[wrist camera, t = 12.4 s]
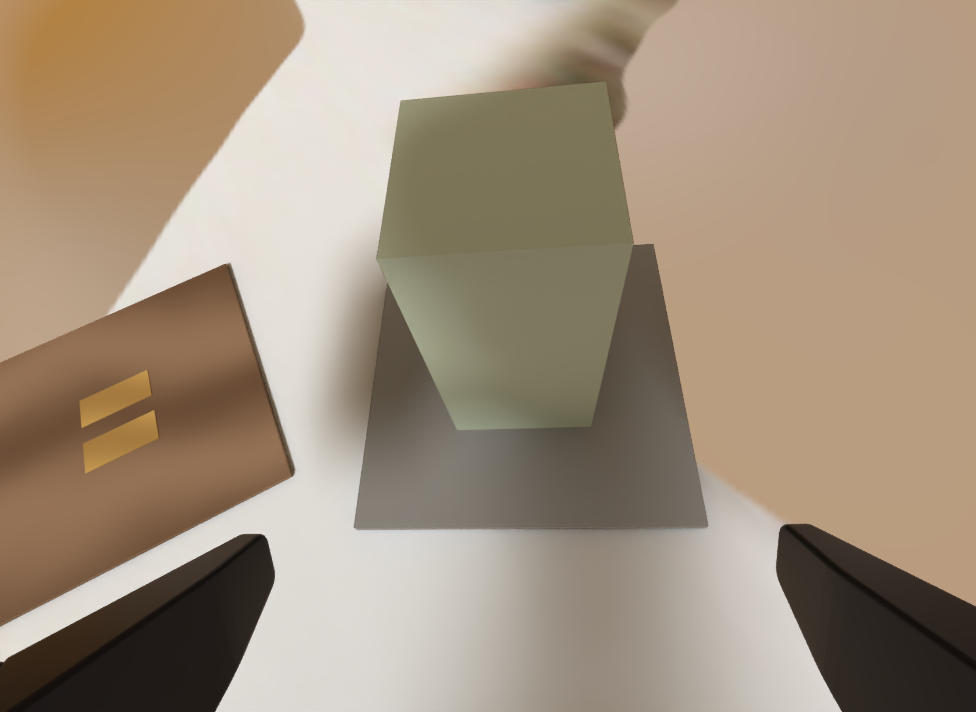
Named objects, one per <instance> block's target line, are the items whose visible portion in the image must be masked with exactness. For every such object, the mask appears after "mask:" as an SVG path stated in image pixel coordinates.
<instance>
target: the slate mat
mask: <svg viewBox="0 0 976 712" xmlns="http://www.w3.org/2000/svg"><path fill="white" fill-rule="evenodd" d="M706 527H708V521H707V516H706V511H705V506H704V501H703V496H702V490H701V485H700V480H699V475H698V470H697V465H696V460H695V455H694V449H693V445H692V439H691V434H690V429H689V424H688V419H687V414H686V409H685V403H684V398H683V394H682V389H681V383H680V378H679V373H678V367H677V362H676V357H675V352H674V347H673V342H672V337H671V332H670V326H669V321H668V316H667V311H666V306H665V301H664V296H663V291H662V285H661V280H660V275H659V270H658V265H657V260H656V255H655V249H654V245H653V244H645V245H633V248H632V252H631V257H630V261H629V265H628V270H627V274H626V278H625V283H624V287H623V291H622V296H621V300H620V304H619V308H618V313H617V317H616V321H615V326H614V330H613V334H612V339H611V343H610V347H609V351H608V356H607V360H606V364H605V369H604V373H603V377H602V382H601V386H600V390H599V395H598V399H597V403H596V407H595V412H594V416H593V420H592V425H591V427H562V428H524V429H486V430H457V429H456V427H455V425H454V423H453V421H452V419H451V416H450V414H449V412H448V410H447V408H446V406H445V404H444V401H443V399H442V397H441V395H440V393H439V391H438V389H437V387H436V384H435V382H434V380H433V378H432V376H431V374H430V372H429V370H428V367H427V365H426V363H425V361H424V359H423V357H422V355H421V353H420V350H419V348H418V346H417V344H416V342H415V340H414V338H413V335H412V333H411V331H410V329H409V327H408V325H407V323H406V321H405V318H404V316H403V314H402V312H401V310H400V308H399V306H398V304H397V301H396V299H395V297H394V295H393V293H392V291H391V289H390V287H389V284H388V282H387V289H386V296H385V303H384V311H383V318H382V325H381V332H380V340H379V347H378V354H377V362H376V369H375V376H374V383H373V391H372V398H371V405H370V413H369V420H368V427H367V435H366V442H365V449H364V456H363V464H362V471H361V478H360V486H359V493H358V500H357V507H356V515H355V522H354V528H355V529H357V530H409V529H632V528H706Z"/></svg>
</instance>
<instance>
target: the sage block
mask: <svg viewBox="0 0 976 712" xmlns="http://www.w3.org/2000/svg"><path fill="white" fill-rule="evenodd" d="M633 244H634V241H633V236H632V230H631V225H630V218H629V212H628V207H627V201H626V195H625V190H624V183H623V178H622V172H621V167H620V161H619V154H618V149H617V143H616V137H615V131H614V126H613V120H612V114H611V108H610V102H609V97H608V91H607V85H606V81H605V82H594V83H583V84H573V85H562V86H551V87H541V88H530V89H519V90H509V91H498V92H487V93H477V94H466V95H455V96H445V97H434V98H423V99H413V100H402V101H400V108H399V114H398V121H397V127H396V134H395V141H394V147H393V154H392V160H391V167H390V173H389V180H388V186H387V193H386V200H385V206H384V213H383V219H382V226H381V232H380V239H379V245H378V252H377V261H378V263H379V265H380V267H381V269H382V272H383V274H384V276H385V278H386V280H387V282H388V284H389V287H390V289H391V291H392V293H393V295H394V297H395V299H396V301H397V304H398V306H399V308H400V310H401V312H402V314H403V316H404V318H405V321H406V323H407V325H408V327H409V329H410V331H411V333H412V335H413V338H414V340H415V342H416V344H417V346H418V348H419V350H420V353H421V355H422V357H423V359H424V361H425V363H426V365H427V367H428V370H429V372H430V374H431V376H432V378H433V380H434V382H435V384H436V387H437V389H438V391H439V393H440V395H441V397H442V399H443V401H444V404H445V406H446V408H447V410H448V412H449V414H450V416H451V419H452V421H453V423H454V425H455V427H456V429H457V430H486V429H524V428H562V427H591V425H592V420H593V416H594V412H595V407H596V403H597V399H598V395H599V390H600V386H601V382H602V377H603V373H604V369H605V364H606V360H607V356H608V351H609V347H610V343H611V339H612V334H613V330H614V326H615V321H616V317H617V313H618V308H619V304H620V300H621V296H622V291H623V287H624V283H625V278H626V274H627V270H628V265H629V261H630V257H631V252H632V248H633Z"/></svg>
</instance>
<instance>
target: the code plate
mask: <svg viewBox="0 0 976 712" xmlns="http://www.w3.org/2000/svg"><path fill="white" fill-rule="evenodd" d="M291 477H293V475H292V472H291V468H290V465H289V462H288V459H287V455H286V452H285V449H284V446H283V442H282V439H281V436H280V433H279V429H278V426H277V423H276V420H275V416H274V413H273V410H272V407H271V403H270V400H269V397H268V394H267V391H266V387H265V384H264V381H263V378H262V374H261V371H260V368H259V365H258V361H257V358H256V355H255V352H254V348H253V345H252V342H251V339H250V335H249V332H248V329H247V326H246V322H245V319H244V316H243V313H242V309H241V306H240V303H239V300H238V296H237V293H236V290H235V287H234V283H233V280H232V277H231V274H230V270H229V267H228V265H227V264H224V265H221V266H219V267H217V268H215V269H212V270H210V271H208V272H205V273H203V274H201V275H199V276H196V277H194V278H192V279H190V280H187V281H185V282H183V283H180V284H178V285H176V286H174V287H171V288H169V289H167V290H165V291H162V292H160V293H158V294H155V295H153V296H151V297H149V298H146V299H144V300H142V301H140V302H137V303H135V304H133V305H130V306H128V307H126V308H124V309H121V310H119V311H117V312H115V313H112V314H110V315H108V316H105V317H103V318H101V319H99V320H96V321H94V322H92V323H90V324H87V325H85V326H83V327H80V328H78V329H76V330H74V331H71V332H69V333H67V334H65V335H63V336H60V337H58V338H56V339H53V340H51V341H49V342H46V343H44V344H42V345H40V346H37V347H35V348H33V349H31V350H28V351H26V352H24V353H21V354H19V355H17V356H15V357H12V358H10V359H8V360H5V361H3V362H1V363H0V626H2V625H4V624H6V623H8V622H10V621H12V620H14V619H16V618H18V617H19V616H21V615H23V614H25V613H27V612H29V611H31V610H33V609H35V608H37V607H39V606H41V605H43V604H45V603H47V602H49V601H51V600H53V599H55V598H57V597H58V596H60V595H62V594H64V593H66V592H68V591H70V590H72V589H74V588H76V587H78V586H80V585H82V584H84V583H86V582H88V581H90V580H92V579H94V578H96V577H97V576H99V575H101V574H103V573H105V572H107V571H109V570H111V569H113V568H115V567H117V566H119V565H121V564H123V563H125V562H127V561H129V560H131V559H133V558H135V557H136V556H138V555H140V554H142V553H144V552H146V551H148V550H150V549H152V548H154V547H156V546H158V545H160V544H162V543H164V542H166V541H168V540H170V539H172V538H174V537H175V536H177V535H179V534H181V533H183V532H185V531H187V530H189V529H191V528H193V527H195V526H197V525H199V524H201V523H203V522H205V521H207V520H209V519H211V518H213V517H215V516H216V515H218V514H220V513H222V512H224V511H226V510H228V509H230V508H232V507H234V506H236V505H238V504H240V503H242V502H244V501H246V500H248V499H250V498H252V497H254V496H255V495H257V494H259V493H261V492H263V491H265V490H267V489H269V488H271V487H273V486H275V485H277V484H279V483H281V482H283V481H285V480H287V479H289V478H291Z"/></svg>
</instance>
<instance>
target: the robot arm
mask: <svg viewBox="0 0 976 712" xmlns="http://www.w3.org/2000/svg"><path fill="white" fill-rule="evenodd" d="M776 572H777V577H778V580H779V583H780V585H781V587H782V590H783V592H784V594H785V596H786V598H787V601H788V603H789V605H790V607H791V609H792V612H793V614H794V616H795V618H796V621H797V623H798V625H799V627H800V629H801V632H802V634H803V636H804V638H805V640H806V643H807V645H808V647H809V649H810V652H811V654H812V656H813V658H814V660H815V662H816V665H817V667H818V669H819V671H820V673H821V675H822V677H823V679H824V681H825V682H826V684H827V686H828V688H829V690H830V692H831V693H832V695H833V697H834V699H835V700H836V702H837V704H838V706H839V707H840V709H841V711H842V712H976V606H974V605H972V604H970V603H967V602H966V601H964V600H961V599H960V598H958V597H956V596H953V595H952V594H950V593H948V592H946V591H944V590H942V589H939V588H938V587H936V586H934V585H931V584H929V583H927V582H925V581H923V580H921V579H919V578H917V577H915V576H913V575H911V574H909V573H907V572H905V571H903V570H901V569H899V568H897V567H895V566H893V565H891V564H889V563H887V562H885V561H883V560H881V559H879V558H877V557H875V556H873V555H871V554H869V553H867V552H865V551H863V550H861V549H859V548H857V547H855V546H853V545H851V544H849V543H847V542H844V541H843V540H841V539H839V538H837V537H835V536H833V535H831V534H829V533H827V532H825V531H823V530H821V529H819V528H817V527H815V526H813V525H810V524H785V525H783V526H782V527H781V529H780V532H779V539H778V550H777V561H776ZM274 580H275V570H274V566H273V561H272V557H271V553H270V549H269V544H268V541H267V538H266V537H265V536H264V535H262V534H242V535H239V536H237V537H235V538H233V539H231V540H230V541H228V542H226V543H224V544H222V545H220V546H218V547H216V548H214V549H213V550H211V551H209V552H207V553H205V554H203V555H201V556H199V557H197V558H196V559H194V560H192V561H190V562H188V563H186V564H184V565H182V566H180V567H179V568H177V569H175V570H173V571H171V572H169V573H167V574H165V575H163V576H162V577H160V578H158V579H156V580H154V581H152V582H150V583H148V584H146V585H145V586H143V587H141V588H139V589H137V590H135V591H133V592H131V593H129V594H128V595H126V596H124V597H122V598H120V599H118V600H116V601H114V602H112V603H110V604H109V605H107V606H105V607H103V608H101V609H99V610H97V611H95V612H93V613H92V614H90V615H88V616H86V617H84V618H82V619H80V620H78V621H76V622H75V623H73V624H71V625H69V626H67V627H65V628H63V629H61V630H59V631H58V632H56V633H54V634H52V635H50V636H48V637H46V638H44V639H42V640H41V641H39V642H37V643H35V644H33V645H31V646H29V647H27V648H25V649H24V650H22V651H20V652H18V653H16V654H14V655H12V656H10V657H8V658H7V659H6V660H5V662H0V712H215V711H216V709H217V707H218V705H219V703H220V702H221V700H222V698H223V696H224V694H225V692H226V690H227V688H228V687H229V685H230V683H231V681H232V679H233V677H234V675H235V673H236V671H237V669H238V667H239V664H240V662H241V660H242V658H243V656H244V653H245V651H246V649H247V646H248V644H249V642H250V639H251V637H252V634H253V632H254V630H255V627H256V625H257V623H258V620H259V618H260V616H261V613H262V611H263V608H264V606H265V604H266V601H267V599H268V597H269V594H270V592H271V590H272V587H273V584H274Z"/></svg>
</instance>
